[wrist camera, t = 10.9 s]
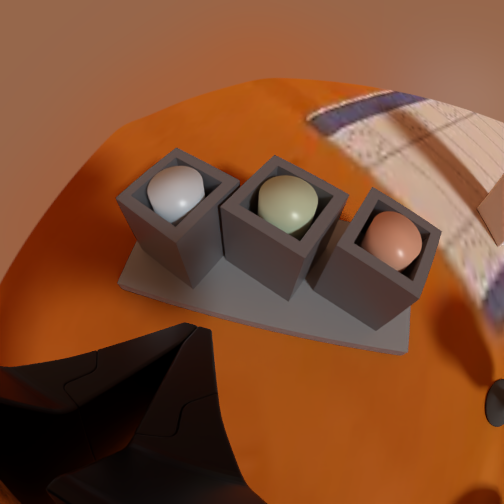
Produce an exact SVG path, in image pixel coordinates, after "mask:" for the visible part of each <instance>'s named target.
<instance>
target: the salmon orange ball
mask: <svg viewBox="0 0 504 504" xmlns="http://www.w3.org/2000/svg"><path fill="white" fill-rule="evenodd" d="M358 246H359V247H361V248H362V249H364V250H366V251H367V252H369V253H370V254H372V255H373V256H375V257H377V258H378V259H380V260H381V261H383V262H384V263H386V264H387V265H389V266H390V267H392V268H394V269H395V270H397V271H398V272H400V273H402V272H403V271H404V270H405V269H406V268H407V267H408V266H409V265H410V263H411V262H412V261H413V260H414V259H415V258H416V257H417V256H418V255H419V253H420V251H421V248H422V239H421V235H420V233H419V231H418V229H417V227H416V226H415V225H414V223H413V222H412V221H411V220H409V219H408V218H407V217H405V216H404V215H402V214H400V213H397V212H392V211H386V212H382V213H379V214H378V215H377V216H376V217H375V218H374V219H373V221H372V223H371V224H370V226H369V228H368V230H367V231H366V233H365V235H364V236H363V238H362V240H361V242H360V243H359V245H358Z"/></svg>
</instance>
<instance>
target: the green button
mask: <svg viewBox="0 0 504 504" xmlns="http://www.w3.org/2000/svg"><path fill="white" fill-rule="evenodd" d="M317 204H318V197H317V194H316V192H315V190H314V188H313V187H312V186H311V185H310V184H309V183H307V182H306V181H304V180H302V179H300V178H298V177H294V176H288V175H282V176H276V177H273V178H271V179H269V180H267V181H266V182H265V183H264V184H263V185H262V186H261V188H260V191H259V200H258V216H259V217H261V218H262V219H264V220H266V221H267V222H269V223H271V224H272V225H274V226H276V227H277V228H279V229H281V230H282V231H284V232H286V233H287V234H289V235H291V236H292V237H294V238H296V239H297V240H299V241H301V239H302V238H303V237H304V235H305V234H306V233H307V231H308V230H309V229H310V227H311V224H312V221H313V217H314V214H315V211H316V208H317Z"/></svg>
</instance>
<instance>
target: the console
mask: <svg viewBox="0 0 504 504" xmlns="http://www.w3.org/2000/svg"><path fill="white" fill-rule="evenodd" d="M173 166H187V167H191V168H193V169H195V170H196V171H198V172H199V173H200V175H201V176H202V179H203V186H204V193H205V199H204V200H203V201H202V202H201V203H200V204H199V205H198V206H197V207H196V208H195V209H194V210H193V211H192V212H190V213H189V214H188V215H187V216H186V217H185V218H184V219H183V220H182V221H181V222H180V223H179V224H178V225H177V226H176V227H175V226H173V225H172V224H171V223H169V222H168V221H166V220H165V219H163V218H162V217H161V216H159V215H158V214H156V213H155V212H154V210H153V207H152V205H151V202H150V199H149V197H148V193H147V189H148V185H149V183H150V181H151V179H152V178H153V177H154V176H155V175H156V174H157V173H159V172H160V171H162V170H164V169H166V168H169V167H173ZM282 175H288V176H294V177H298V178H300V179H302V180H304V181H306V182H307V183H309V184H310V185H311V186H312V187H313V188H314V190H315V192H316V194H317V197H318V204H317V208H316V211H315V214H314V217H313V221H312V224H311V227H310V229H309V230H308V231H307V233H306V234H305V235H304V237H303V238H302V239H301V241H299V240H297V239H296V238H294V237H292V236H291V235H289V234H287V233H286V232H284V231H282V230H281V229H279V228H277V227H276V226H274V225H272V224H271V223H269V222H267V221H266V220H264V219H262V218H261V217H259V216H258V200H259V191H260V188H261V186H262V185H263V184H264V183H265V182H266V181H267V180H269V179H271V178H273V177H276V176H282ZM348 196H349V194H347V193H345V192H343V191H342V190H340V189H338V188H336V187H335V186H333V185H331V184H329V183H327V182H326V181H324V180H322V179H320V178H318V177H316V176H314V175H313V174H311V173H309V172H307V171H305V170H303V169H301V168H299V167H297V166H295V165H293V164H291V163H290V162H288V161H286V160H284V159H282V158H280V157H278V156H276V155H274V156H273V157H272V158H271V159H270V160H269V161H268V162H266V163H265V164H264V165H263V166H262V167H261V168H260V169H259V170H258V171H257V172H256V173H255V174H254V175H253V176H252V177H250V178H249V179H248V180H247V181H246V182H245V183H244V184H243V185H242V186H241V187H240V180H238V179H236V178H234V177H232V176H230V175H228V174H227V173H225V172H223V171H221V170H219V169H217V168H215V167H213V166H211V165H209V164H208V163H206V162H204V161H202V160H200V159H198V158H196V157H194V156H192V155H190V154H188V153H186V152H184V151H182V150H180V149H178V148H175V149H174V150H173V151H171V152H170V153H169V154H167V155H166V156H165V157H164V158H162V159H161V160H160V161H159V162H157V163H156V164H155V165H154V166H152V167H151V168H150V169H149V170H147V171H146V172H145V173H144V174H143V175H141V176H140V177H139V178H138V179H137V180H136V181H134V182H133V183H132V184H131V185H130V186H129V187H127V188H126V189H125V190H124V191H123V192H122V193H121V194H119V195H118V196H117V197H116V200H117V202H118V204H119V206H120V208H121V210H122V212H123V214H124V216H125V218H126V220H127V222H128V224H129V226H130V228H131V230H132V232H133V233H134V235H135V237H136V239H137V242H136V244H135V246H134V248H133V250H132V252H131V254H130V256H129V258H128V260H127V263H126V265H125V267H124V269H123V271H122V273H121V276H120V278H119V280H118V282H117V283H118V285H119V286H120V287H121V288H122V289H124V290H127V291H130V292H133V293H136V294H139V295H143V296H146V297H149V298H152V299H155V300H159V301H162V302H165V303H168V304H172V305H175V306H179V307H182V308H185V309H189V310H192V311H196V312H200V313H203V314H207V315H210V316H214V317H218V318H222V319H225V320H229V321H233V322H237V323H241V324H245V325H249V326H253V327H257V328H261V329H266V330H270V331H274V332H279V333H283V334H287V335H292V336H297V337H301V338H306V339H311V340H316V341H321V342H326V343H331V344H336V345H341V346H347V347H352V348H358V349H363V350H369V351H375V352H382V353H388V354H394V355H403V354H405V353H407V352H408V343H409V327H410V306H411V305H412V304H413V303H414V302H416V301H417V300H418V299H419V298H420V295H421V293H422V290H423V287H424V285H425V282H426V279H427V276H428V273H429V271H430V268H431V265H432V262H433V259H434V256H435V252H436V249H437V246H438V243H439V239H440V236H441V232H442V231H440V230H439V229H437V228H436V227H435V226H433V225H432V224H430V223H429V222H427V221H426V220H424V219H423V218H421V217H420V216H418V215H417V214H415V213H414V212H412V211H411V210H409V209H408V208H406V207H404V206H403V205H401V204H400V203H398V202H396V201H395V200H393V199H392V198H390V197H388V196H387V195H385V194H383V193H382V192H380V191H378V190H377V189H375V188H373V187H372V188H371V190H370V192H369V193H368V195H367V197H366V198H365V200H364V202H363V203H362V205H361V207H360V208H359V210H358V211H357V213H356V215H355V216H354V218H353V219H352V221H351V222H347V221H343V220H339V218H340V215H341V213H342V211H343V208H344V206H345V204H346V201H347V199H348ZM386 211H392V212H397V213H400V214H402V215H404V216H405V217H407V218H408V219H409V220H411V221H412V222H413V223H414V225H415V226H416V227H417V229H418V231H419V233H420V235H421V239H422V248H421V251H420V253H419V255H418V256H417V257H416V258H415V259H414V260H413V261H412V262H411V263H410V265H409V266H408V267H407V268H406V269H405V270H404V271H403V272H402V273H400V272H398V271H397V270H395V269H394V268H392V267H390V266H389V265H387V264H386V263H384V262H383V261H381V260H380V259H378V258H377V257H375V256H373V255H372V254H370V253H369V252H367V251H366V250H364V249H362V248H361V247H359V246H358V245H359V243H360V242H361V240H362V238H363V236H364V235H365V233H366V231H367V230H368V228H369V226H370V224H371V223H372V221H373V219H374V218H375V217H376V216H377V215H378V214H379V213H382V212H386Z"/></svg>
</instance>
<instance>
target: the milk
mask: <svg viewBox="0 0 504 504" xmlns="http://www.w3.org/2000/svg"><path fill="white" fill-rule="evenodd" d="M477 210H478V211H479V213H480V215H481V217H482V218H483V220H484V222H485V223H486V225H487V227H488V229H489V231H490V233H491V234H492V236H493V238H494V240H495V242H496V244H497V246H498V247H500V246H502V245H504V174H503V175H502V177H501V178H500V179H499V181H498V182H497V183H496V185H495V186H494V187H493V189H492V190H491V191H490V192H489V194H488V195H487V196H486V197H485V199H484V200H483V201H482V202H481V204H480V205H479V206H478V207H477Z"/></svg>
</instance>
